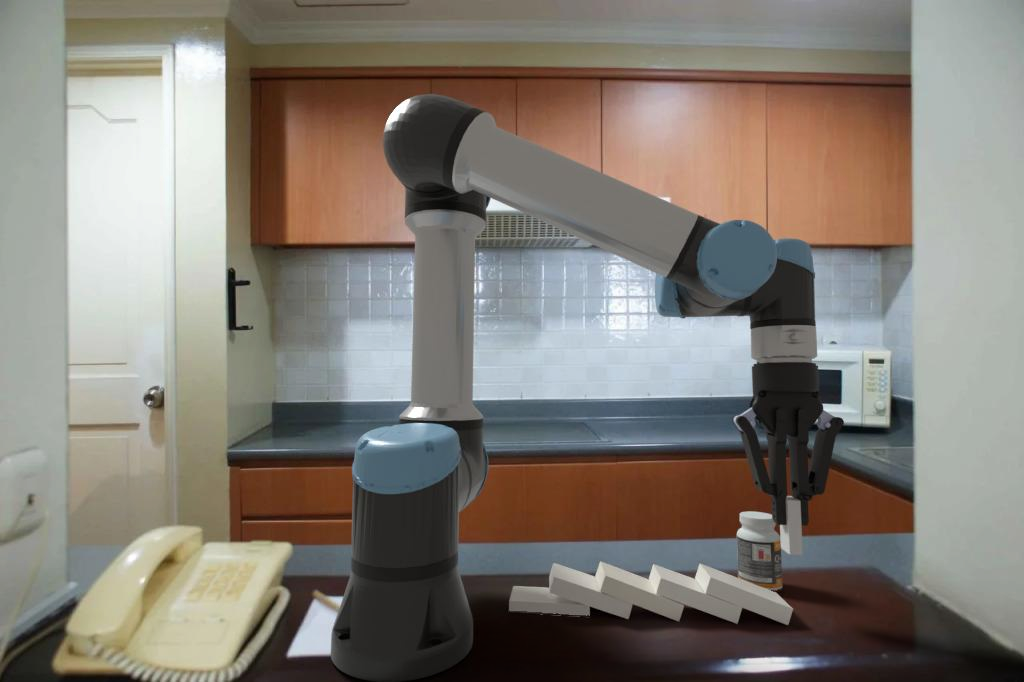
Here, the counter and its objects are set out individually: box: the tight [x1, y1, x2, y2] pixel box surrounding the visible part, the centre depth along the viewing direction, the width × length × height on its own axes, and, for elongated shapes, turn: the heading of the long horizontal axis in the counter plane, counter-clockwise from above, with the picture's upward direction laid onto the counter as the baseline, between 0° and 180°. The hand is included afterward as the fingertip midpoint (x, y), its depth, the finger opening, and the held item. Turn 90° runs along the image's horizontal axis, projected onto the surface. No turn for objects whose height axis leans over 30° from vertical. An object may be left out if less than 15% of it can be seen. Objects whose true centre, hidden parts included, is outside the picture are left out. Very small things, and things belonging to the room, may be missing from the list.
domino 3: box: [594, 560, 685, 622], centre depth 65 cm, size 2×5×10 cm
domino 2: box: [548, 562, 634, 620], centre depth 66 cm, size 2×5×10 cm
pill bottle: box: [736, 510, 783, 590], centre depth 74 cm, size 6×6×10 cm
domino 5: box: [694, 563, 794, 626], centre depth 65 cm, size 2×5×10 cm
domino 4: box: [648, 563, 743, 625], centre depth 65 cm, size 2×5×10 cm
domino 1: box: [508, 585, 591, 617], centre depth 67 cm, size 2×5×10 cm
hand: (791, 551), depth 64 cm, fingers closed
